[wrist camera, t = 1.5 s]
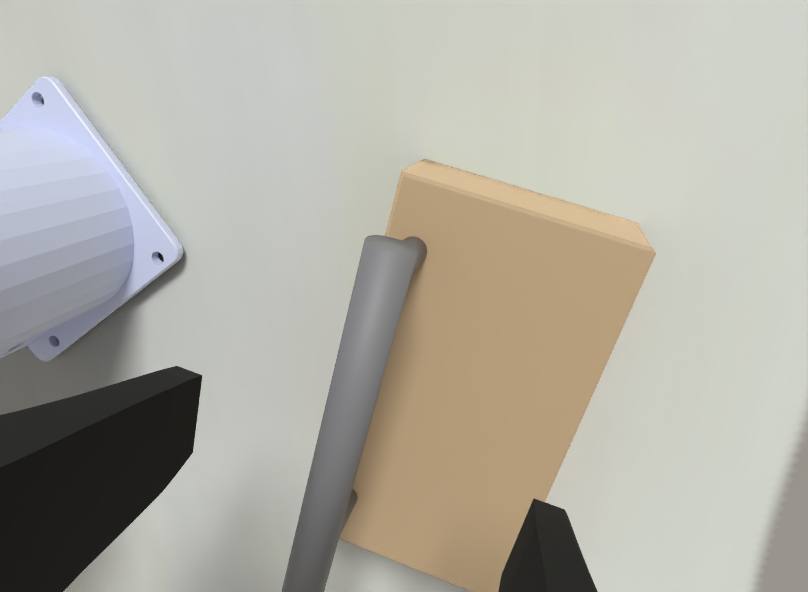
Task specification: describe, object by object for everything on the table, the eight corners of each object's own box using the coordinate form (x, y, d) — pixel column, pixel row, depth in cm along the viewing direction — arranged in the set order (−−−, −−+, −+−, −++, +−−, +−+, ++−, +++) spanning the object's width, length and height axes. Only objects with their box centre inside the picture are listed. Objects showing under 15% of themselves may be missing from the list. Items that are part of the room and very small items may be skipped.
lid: (319, 518, 21) (263, 619, 17) (407, 173, 16) (358, 200, 12) (500, 591, 20) (487, 716, 16) (652, 248, 15) (688, 305, 11)
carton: (344, 464, 24) (315, 514, 21) (424, 159, 19) (401, 171, 16) (507, 526, 23) (500, 588, 20) (636, 223, 18) (651, 247, 15)
